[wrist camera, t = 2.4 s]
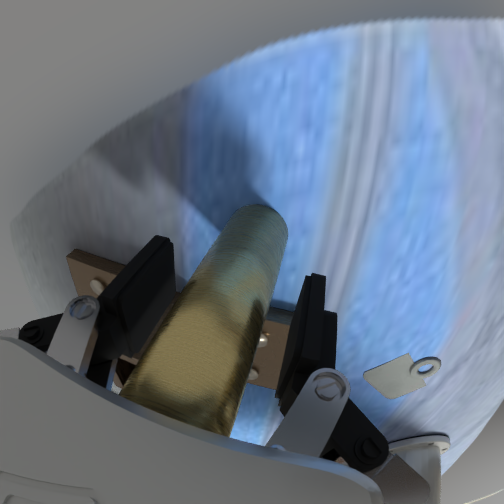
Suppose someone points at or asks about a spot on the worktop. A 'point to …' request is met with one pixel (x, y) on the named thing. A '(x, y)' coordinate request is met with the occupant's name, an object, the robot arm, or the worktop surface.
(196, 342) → the pin
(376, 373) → the mounting bracket
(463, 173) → the worktop surface
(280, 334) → the hinge base
